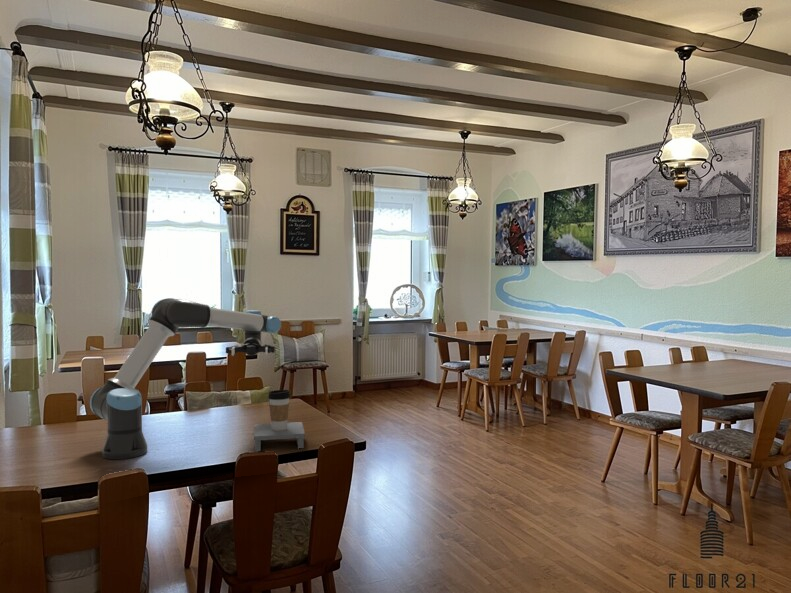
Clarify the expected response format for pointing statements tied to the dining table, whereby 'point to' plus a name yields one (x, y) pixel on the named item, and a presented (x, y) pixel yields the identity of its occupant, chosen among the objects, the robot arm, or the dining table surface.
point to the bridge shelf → (278, 433)
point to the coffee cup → (279, 409)
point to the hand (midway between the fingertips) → (249, 352)
